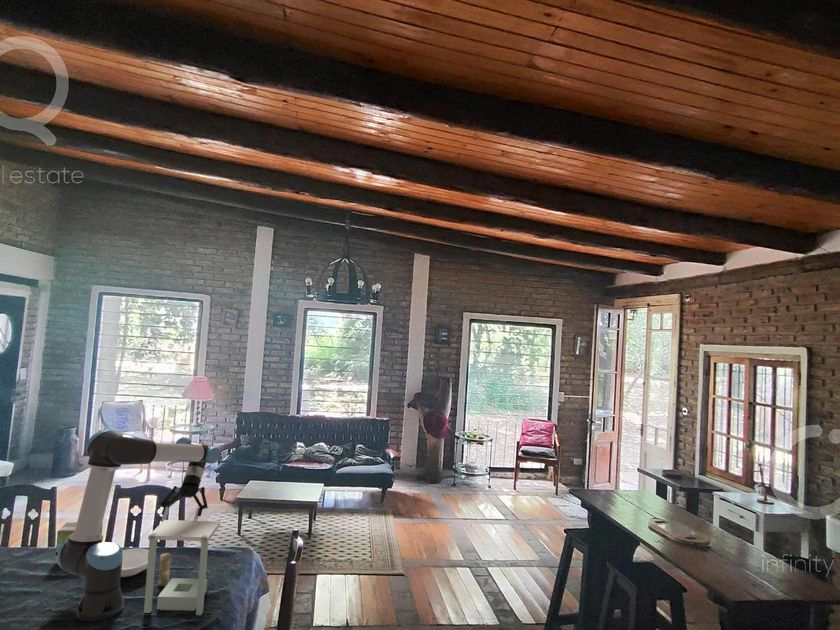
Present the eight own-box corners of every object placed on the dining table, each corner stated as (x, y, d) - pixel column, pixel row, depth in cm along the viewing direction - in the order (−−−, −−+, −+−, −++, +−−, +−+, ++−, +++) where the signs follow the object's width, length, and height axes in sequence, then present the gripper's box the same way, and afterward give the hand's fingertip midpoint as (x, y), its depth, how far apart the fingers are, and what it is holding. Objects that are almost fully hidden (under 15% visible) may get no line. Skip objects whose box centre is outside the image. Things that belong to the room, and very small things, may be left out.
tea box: (54, 564, 223) (56, 530, 223) (63, 554, 233) (66, 521, 233) (92, 562, 227) (95, 529, 227) (100, 552, 237) (103, 520, 237)
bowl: (163, 565, 229) (164, 551, 229) (134, 588, 210) (135, 572, 210) (122, 560, 231) (123, 546, 231) (89, 582, 212) (90, 566, 212)
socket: (142, 614, 192) (148, 535, 193) (161, 590, 209) (166, 517, 210) (202, 615, 194) (208, 537, 195) (216, 591, 211) (221, 519, 212)
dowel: (156, 586, 212) (158, 557, 212) (160, 581, 216) (162, 552, 216) (166, 586, 212) (168, 557, 212) (170, 581, 216) (172, 553, 216)
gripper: (221, 482, 245) (209, 527, 230) (167, 480, 243) (151, 525, 228) (218, 475, 240) (206, 519, 225) (163, 473, 237) (147, 518, 222)
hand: (178, 522), depth 226 cm, fingers open, 13 cm apart
